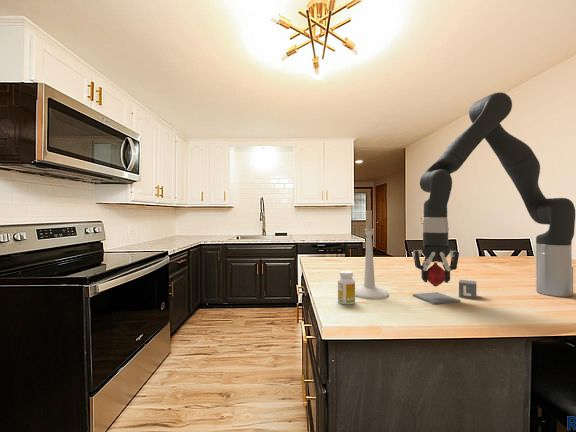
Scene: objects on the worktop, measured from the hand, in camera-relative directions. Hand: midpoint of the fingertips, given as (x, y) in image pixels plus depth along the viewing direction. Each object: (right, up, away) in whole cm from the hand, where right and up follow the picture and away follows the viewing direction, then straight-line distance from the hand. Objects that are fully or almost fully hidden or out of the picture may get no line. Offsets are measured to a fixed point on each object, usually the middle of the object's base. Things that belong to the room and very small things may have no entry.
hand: (435, 281), depth 98 cm
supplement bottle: (-30, -6, -3) cm, 31 cm away
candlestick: (-20, -6, +6) cm, 22 cm away
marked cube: (+12, -6, +3) cm, 14 cm away
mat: (0, -6, 0) cm, 6 cm away
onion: (0, -2, 0) cm, 2 cm away
